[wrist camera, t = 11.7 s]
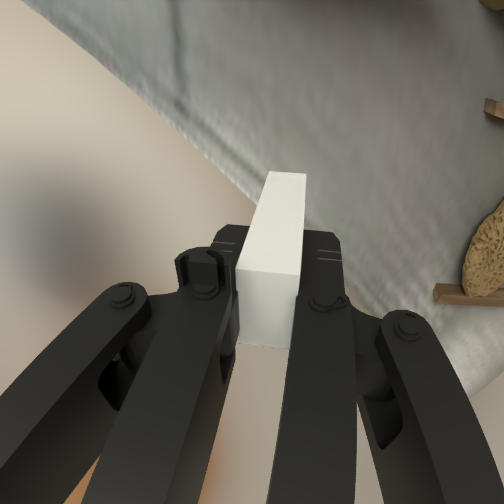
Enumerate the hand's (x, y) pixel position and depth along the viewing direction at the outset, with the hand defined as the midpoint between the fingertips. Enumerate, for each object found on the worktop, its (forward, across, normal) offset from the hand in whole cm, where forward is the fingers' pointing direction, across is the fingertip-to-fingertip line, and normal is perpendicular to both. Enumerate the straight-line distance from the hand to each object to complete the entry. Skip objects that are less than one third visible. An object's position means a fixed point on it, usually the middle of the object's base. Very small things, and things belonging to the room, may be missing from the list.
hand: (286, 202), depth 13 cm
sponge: (+30, +34, -16) cm, 48 cm away
